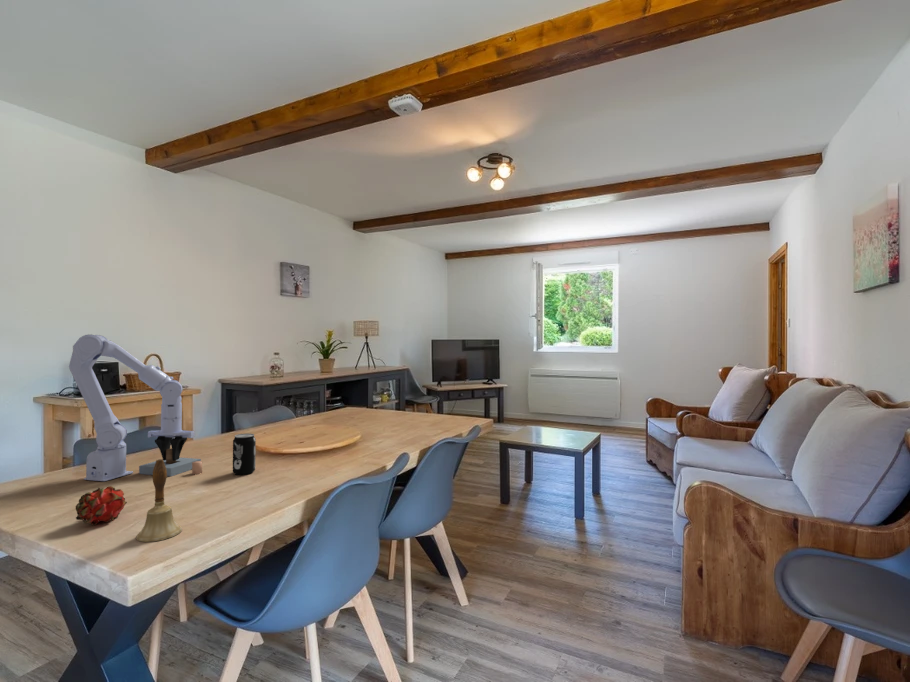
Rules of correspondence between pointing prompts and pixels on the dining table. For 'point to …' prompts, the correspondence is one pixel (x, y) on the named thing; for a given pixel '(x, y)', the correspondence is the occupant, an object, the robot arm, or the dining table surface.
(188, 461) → the hole block
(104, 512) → the dragon fruit
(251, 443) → the beverage can
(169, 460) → the long pin
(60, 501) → the dining table surface
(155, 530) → the hand bell
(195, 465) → the short pin
